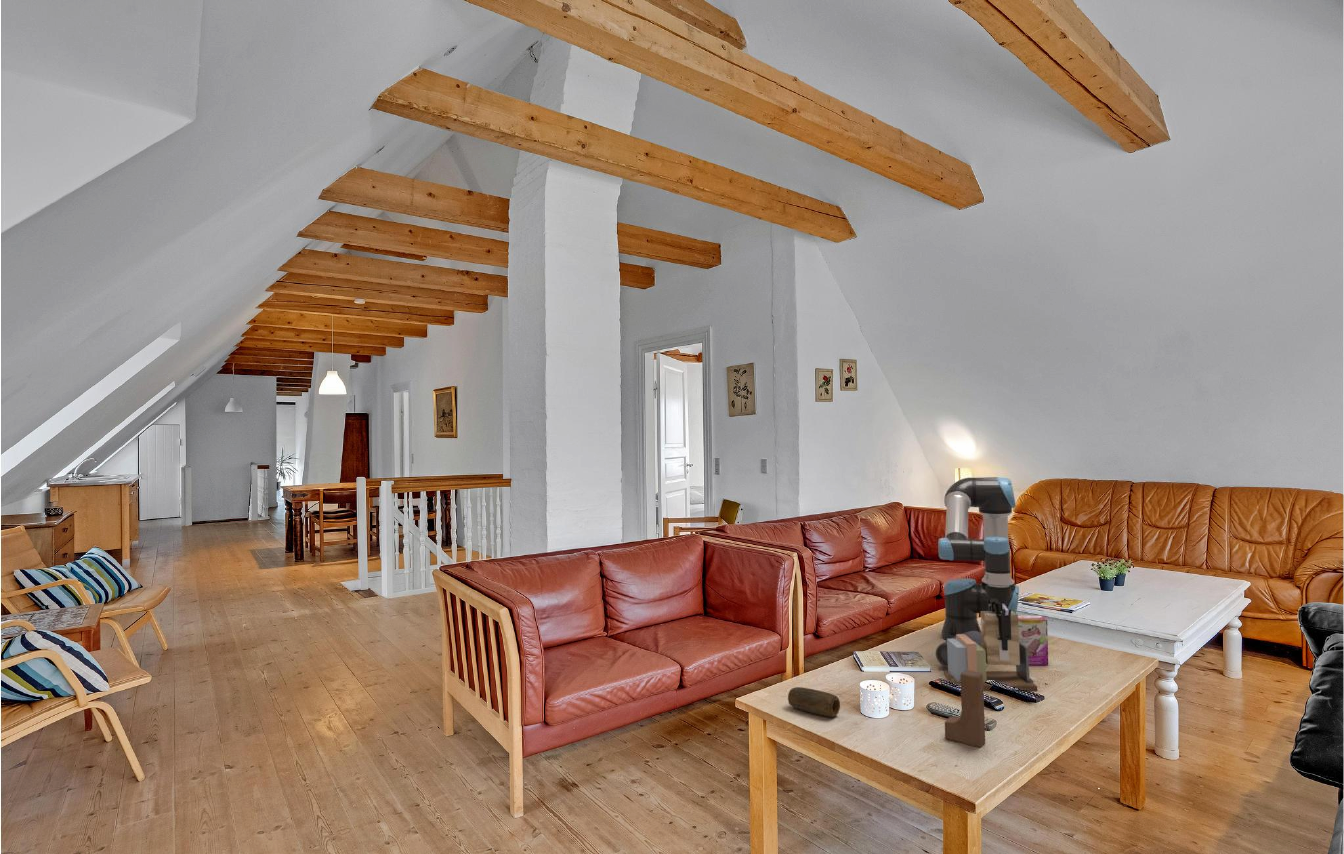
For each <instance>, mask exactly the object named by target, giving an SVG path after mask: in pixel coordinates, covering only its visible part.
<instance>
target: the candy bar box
mask: <svg viewBox="0 0 1344 854" xmlns="http://www.w3.org/2000/svg"><path fill="white" fill-rule="evenodd" d="M1018 627H1019V642H1020V643H1022V644H1023V645H1025V646H1026V647H1028V655H1029V666H1049V642H1048V639H1049V637H1048V619H1047V618H1046V617H1044V616H1042V615H1019V614H1018Z"/></svg>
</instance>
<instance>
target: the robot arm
mask: <svg viewBox="0 0 1344 854" xmlns="http://www.w3.org/2000/svg"><path fill="white" fill-rule="evenodd" d="M1012 484H1013V483H1012V480H1011V479H1010V478H1008V477H998V476H994V477H993V476H991V477H988V476H987V477H984V476H983V477H965V478H962V479H959V480H957V481H955V482H954V483H952V485H951V486H949V488H948V489H947V490H946V492H945V494H944V497H943V498H944V500H943V502H944V503H943V504H944V507H945V508H946V514H945V515H946V516H945V536H944V537H941V538H938V542H937V543H938V545H937V546H938V547H937V548H938V557H939V559H940V560H946V561H947V560H949V561H961V562H962V561H966V562H967V561H968V562H970V561H971V562H984V575H983V577H982V578H981V583H977V581H976V579H974V578H966V577H965V578H956V579H950V580H948V581H946V582H945V584H944V592H943V594H944V605H945V607H944V609H945V618H944V622H943V624H942V625H943V626H942V629H941V633H940V634H941V638H942V639H943V640H945V641H947V639H951V638H953V637H955V636H956V634H963V633H966V632H969V631H978V632H980V633H981V626H980V624H979V621H978V614H980V615H981V611H992V612H995V614H996V616H997V618H998V626H999V636H1000V638H997V639H998V640H999V660H1009V648H1008V640H1011V611H1012V612H1014V613H1016V614H1017V611H1018V605H1019V595H1020V594H1019V593H1020V588H1019V586H1018V585H1017V584H1015V580H1014V579H1013V578H1012V575H1011V574H1012V572H1011V554H1010V553H1011V552H1010V550H1011V547H1010V541H1009V540H1010V539H1009V516H1010V515H1012V513H1013V509H1015V508H1016V507H1017V505H1016V499H1015V493H1014V489H1013V485H1012ZM970 508H978V513H979V514H981V515H982V518H983V539H982V538H980V539H979V538H976V539H975V538H969V510H970ZM998 614H1001V615H998Z"/></svg>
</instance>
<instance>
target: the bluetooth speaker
mask: <svg viewBox="0 0 1344 854" xmlns="http://www.w3.org/2000/svg"><path fill="white" fill-rule="evenodd" d="M963 634H965V635H966V636H967V637H969V638H970V639H971V640H972V641H974V642H976V643H977V644H978V645H979V646H981V647H982V634H981V633H980V632H978V631H969V632H966V633H963ZM951 639H956V636H955V637H953V638H951ZM935 657H936V660H937V661H938V663H939V664H940V665H941V666H942V667H944V668H947V669H948V654H947V640H945V641H943V642H942V643H941V644H940V643H939V645H938V646H937V647H936V649H935Z"/></svg>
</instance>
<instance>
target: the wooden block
mask: <svg viewBox="0 0 1344 854" xmlns="http://www.w3.org/2000/svg"><path fill="white" fill-rule="evenodd" d="M960 679H961V690H960V697H961V698H960V701H961V702H960V704H961V706H960V707H961V713H960V716H959V717H957V716H949V717H948V718H947V719H946V720H945V721H944V738H945V739H946V740H950V741H953V742H957V743H961V744H965V745H968V746H969V745H970V746H972V747H976V748H977V747H978V748H982V746H983V745H984V744H985V742H986V728H985V727H986V722H985V702H984V700H985V699H984V690H983V674H982V673H981V672H975V671H970V670H965V671H963V672H962V673H961V674H960Z"/></svg>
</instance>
